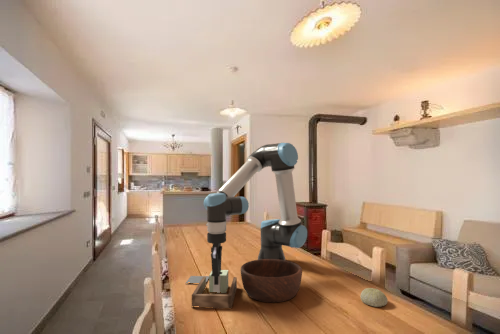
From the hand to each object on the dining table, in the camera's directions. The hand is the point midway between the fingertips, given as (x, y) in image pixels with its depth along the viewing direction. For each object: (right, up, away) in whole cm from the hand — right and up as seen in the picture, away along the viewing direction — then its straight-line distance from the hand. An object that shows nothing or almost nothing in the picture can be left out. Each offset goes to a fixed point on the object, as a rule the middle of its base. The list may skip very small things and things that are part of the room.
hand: (216, 291), depth 115 cm
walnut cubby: (0, -2, -1) cm, 2 cm away
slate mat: (-10, -2, +16) cm, 20 cm away
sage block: (0, -2, +6) cm, 6 cm away
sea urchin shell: (+59, -1, -7) cm, 60 cm away
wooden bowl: (+22, -2, +3) cm, 22 cm away
